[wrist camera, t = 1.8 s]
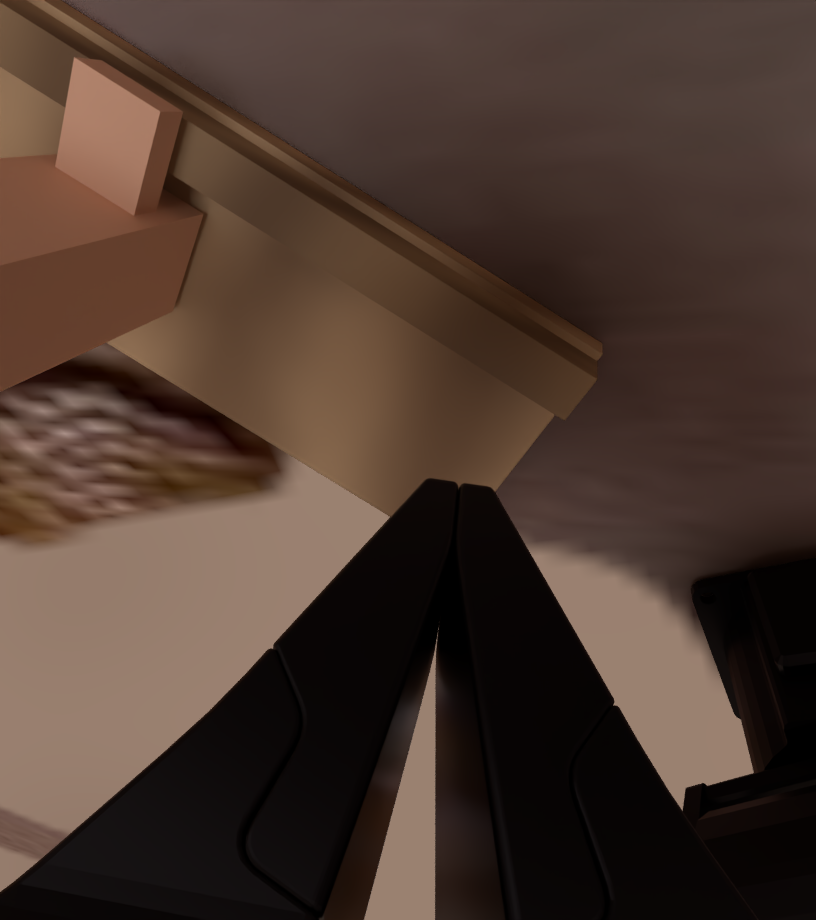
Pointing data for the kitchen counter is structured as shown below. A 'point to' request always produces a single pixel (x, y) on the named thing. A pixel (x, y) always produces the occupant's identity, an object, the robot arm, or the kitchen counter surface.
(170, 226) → the block
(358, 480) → the trammel board
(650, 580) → the kitchen counter surface
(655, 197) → the kitchen counter surface
